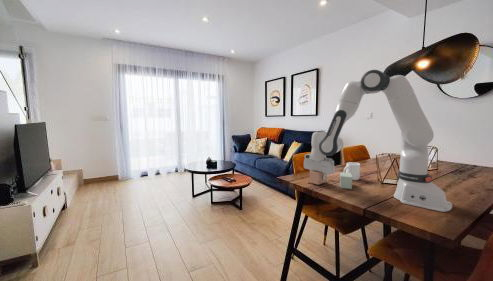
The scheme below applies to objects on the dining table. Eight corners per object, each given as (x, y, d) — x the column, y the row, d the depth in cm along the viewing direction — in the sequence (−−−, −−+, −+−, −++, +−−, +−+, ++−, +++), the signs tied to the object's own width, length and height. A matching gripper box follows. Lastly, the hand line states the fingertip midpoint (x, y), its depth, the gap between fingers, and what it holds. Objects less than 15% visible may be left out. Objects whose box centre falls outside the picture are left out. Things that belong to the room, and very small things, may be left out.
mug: (348, 181, 138) (348, 166, 137) (338, 178, 146) (339, 163, 145) (362, 179, 142) (363, 164, 141) (352, 176, 150) (353, 161, 149)
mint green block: (350, 184, 134) (351, 173, 133) (351, 189, 125) (352, 177, 124) (339, 183, 136) (340, 172, 135) (340, 187, 127) (340, 176, 127)
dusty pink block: (326, 181, 137) (326, 170, 136) (318, 184, 131) (318, 173, 130) (318, 179, 142) (318, 169, 141) (309, 182, 136) (309, 171, 135)
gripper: (336, 158, 128) (336, 180, 130) (308, 153, 144) (308, 173, 146) (331, 159, 124) (330, 182, 126) (302, 154, 140) (302, 175, 142)
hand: (318, 177), depth 136 cm, fingers closed on dusty pink block, 6 cm apart
